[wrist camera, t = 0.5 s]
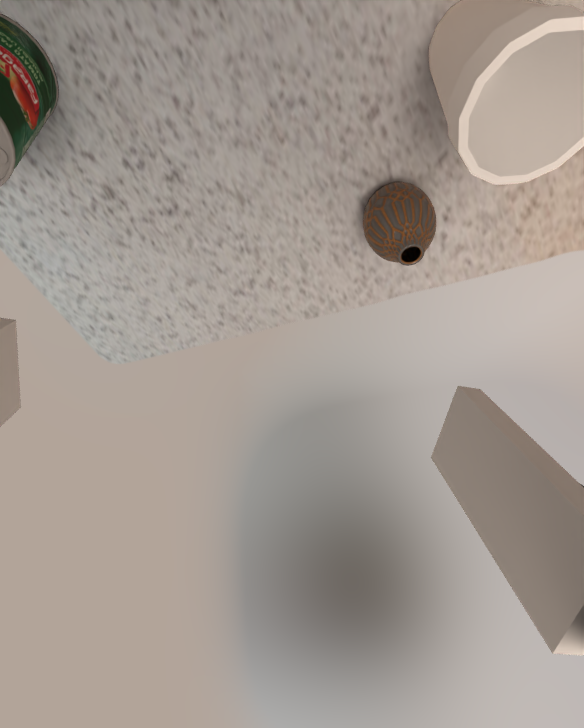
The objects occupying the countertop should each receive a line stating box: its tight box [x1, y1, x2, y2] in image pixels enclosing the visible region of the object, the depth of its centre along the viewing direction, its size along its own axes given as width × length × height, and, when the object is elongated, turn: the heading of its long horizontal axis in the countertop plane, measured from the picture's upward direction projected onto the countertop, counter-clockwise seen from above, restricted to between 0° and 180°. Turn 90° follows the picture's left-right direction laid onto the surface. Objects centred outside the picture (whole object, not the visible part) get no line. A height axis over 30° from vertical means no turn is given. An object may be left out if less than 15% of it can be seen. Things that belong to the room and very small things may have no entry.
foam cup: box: [429, 0, 584, 185], centre depth 30 cm, size 10×9×13 cm
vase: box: [363, 182, 436, 265], centre depth 42 cm, size 7×7×9 cm
